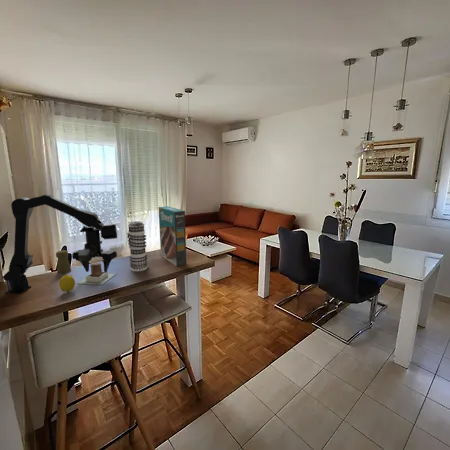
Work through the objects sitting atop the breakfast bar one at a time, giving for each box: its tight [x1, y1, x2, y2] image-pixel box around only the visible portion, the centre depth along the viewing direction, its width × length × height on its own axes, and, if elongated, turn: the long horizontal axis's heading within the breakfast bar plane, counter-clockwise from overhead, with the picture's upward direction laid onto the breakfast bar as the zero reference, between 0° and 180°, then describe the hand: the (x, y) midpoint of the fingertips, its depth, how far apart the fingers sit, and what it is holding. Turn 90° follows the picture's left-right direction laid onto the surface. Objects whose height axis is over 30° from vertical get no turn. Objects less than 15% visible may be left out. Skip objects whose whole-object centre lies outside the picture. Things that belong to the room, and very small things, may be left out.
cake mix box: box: [158, 205, 187, 267], centre depth 142 cm, size 22×6×30 cm, turn 36°
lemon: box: [58, 274, 76, 293], centre depth 104 cm, size 6×6×8 cm
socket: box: [76, 270, 117, 286], centre depth 118 cm, size 12×12×2 cm
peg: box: [90, 262, 103, 277], centre depth 117 cm, size 4×4×7 cm
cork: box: [55, 250, 72, 275], centre depth 125 cm, size 6×6×11 cm
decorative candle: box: [126, 220, 148, 272], centre depth 129 cm, size 9×9×25 cm
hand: (96, 272), depth 117 cm, fingers open, 9 cm apart
